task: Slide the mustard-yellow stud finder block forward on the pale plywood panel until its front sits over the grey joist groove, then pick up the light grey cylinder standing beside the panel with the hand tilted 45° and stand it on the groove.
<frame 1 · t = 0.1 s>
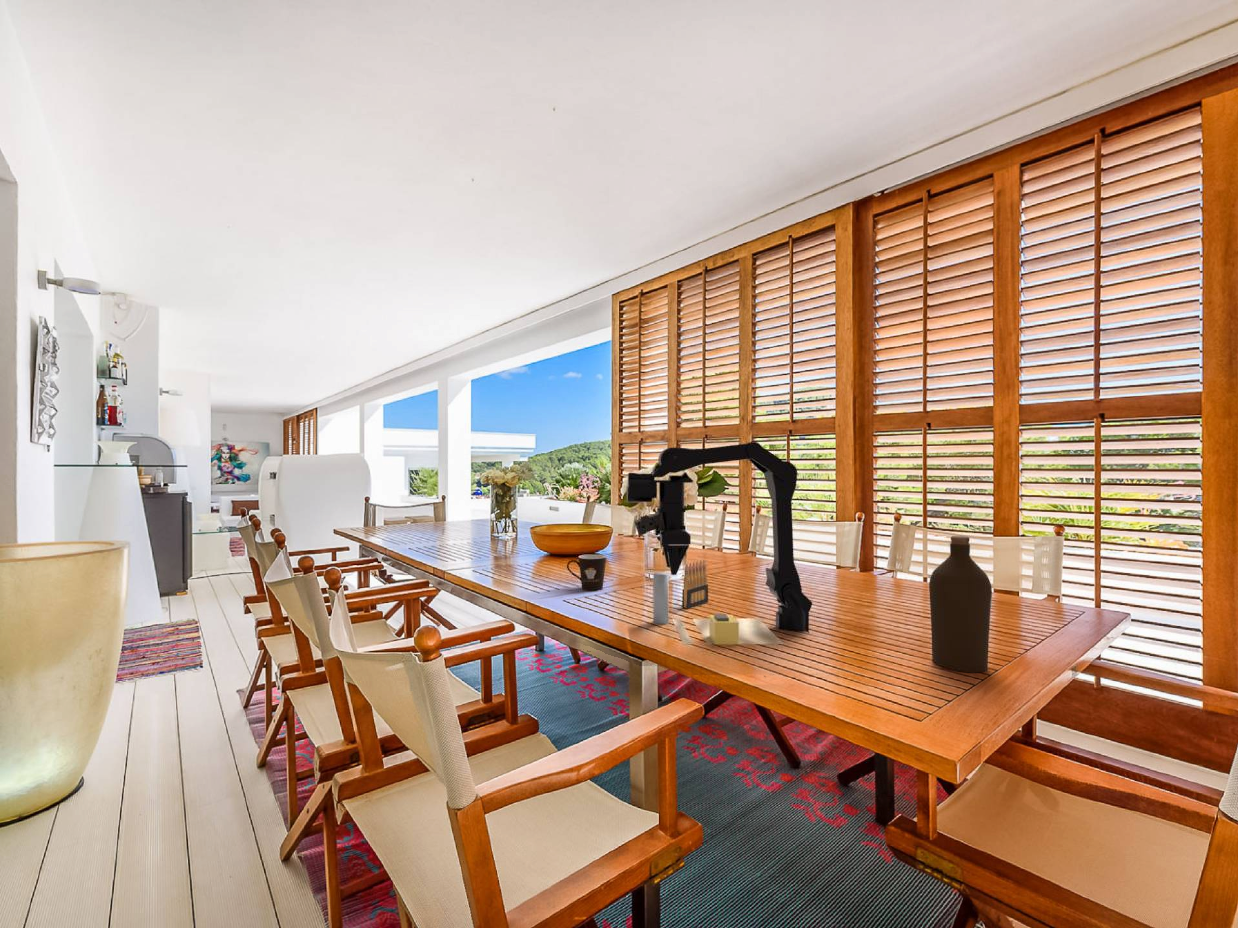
hand: (671, 570, 134), 15 cm above the table, tool pointing down, fingers open, 9 cm apart
light grey cylinder: (660, 628, 139), on the table
panel: (723, 636, 133), on the table
coffee mug: (588, 588, 184), on the table
olive oil: (959, 665, 115), on the table
ammunition clip: (695, 605, 163), on the table
finder: (723, 639, 126), point 1 cm above the table, touching panel
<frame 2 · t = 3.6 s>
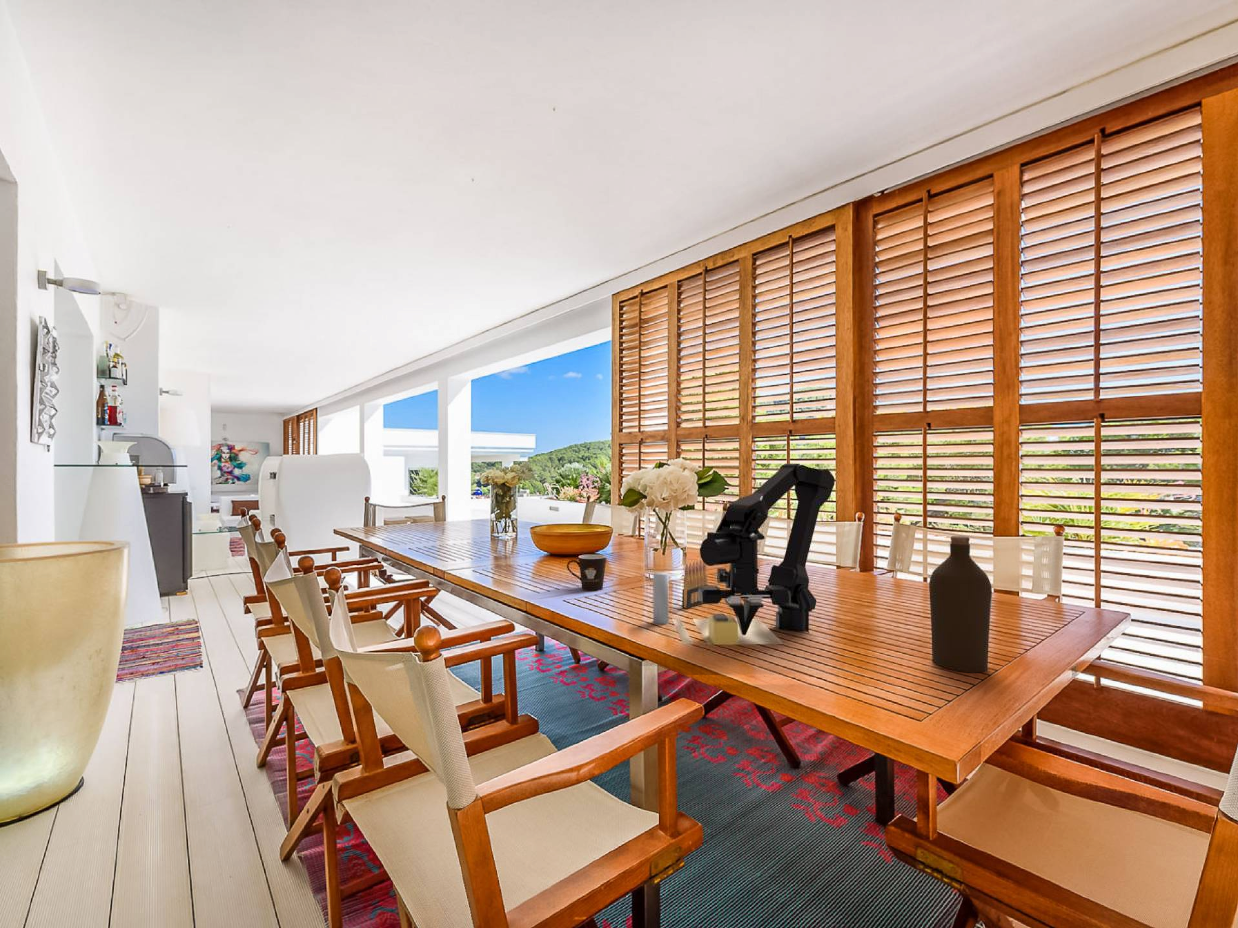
hand: (743, 634, 126), 3 cm above the table, tool pointing down, fingers closed
finder: (722, 639, 126), point 1 cm above the table, touching gripper, panel
everything else where it was.
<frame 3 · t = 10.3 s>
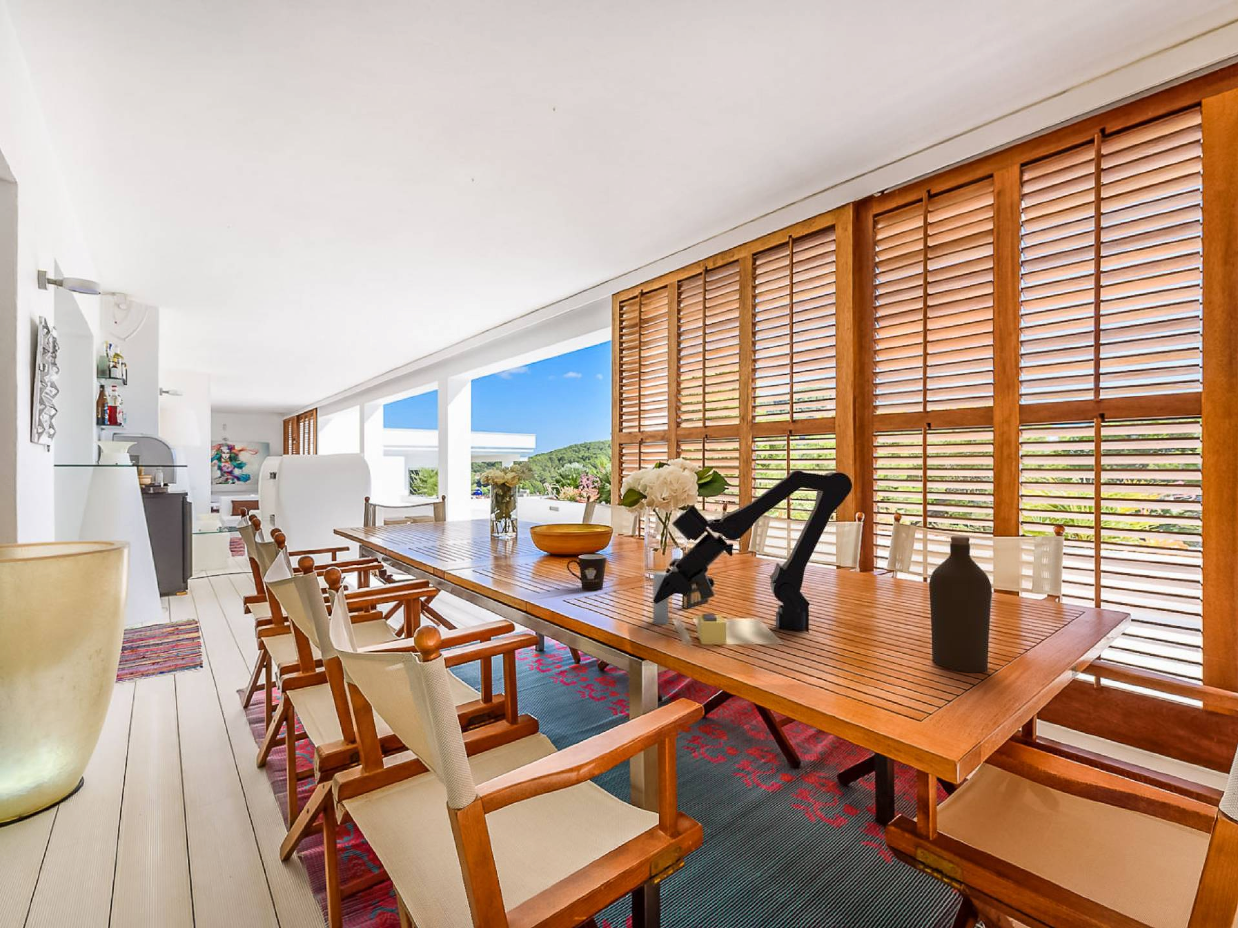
hand: (655, 600, 140), 7 cm above the table, tool tilted 45°, fingers closed on light grey cylinder, 4 cm apart
light grey cylinder: (660, 628, 139), on the table, touching gripper
finder: (711, 639, 126), point 1 cm above the table, touching panel
everything else where it was.
when the fingers open (9 cm above the table, at t = 12.8 s): light grey cylinder stays where it is, resting on panel.
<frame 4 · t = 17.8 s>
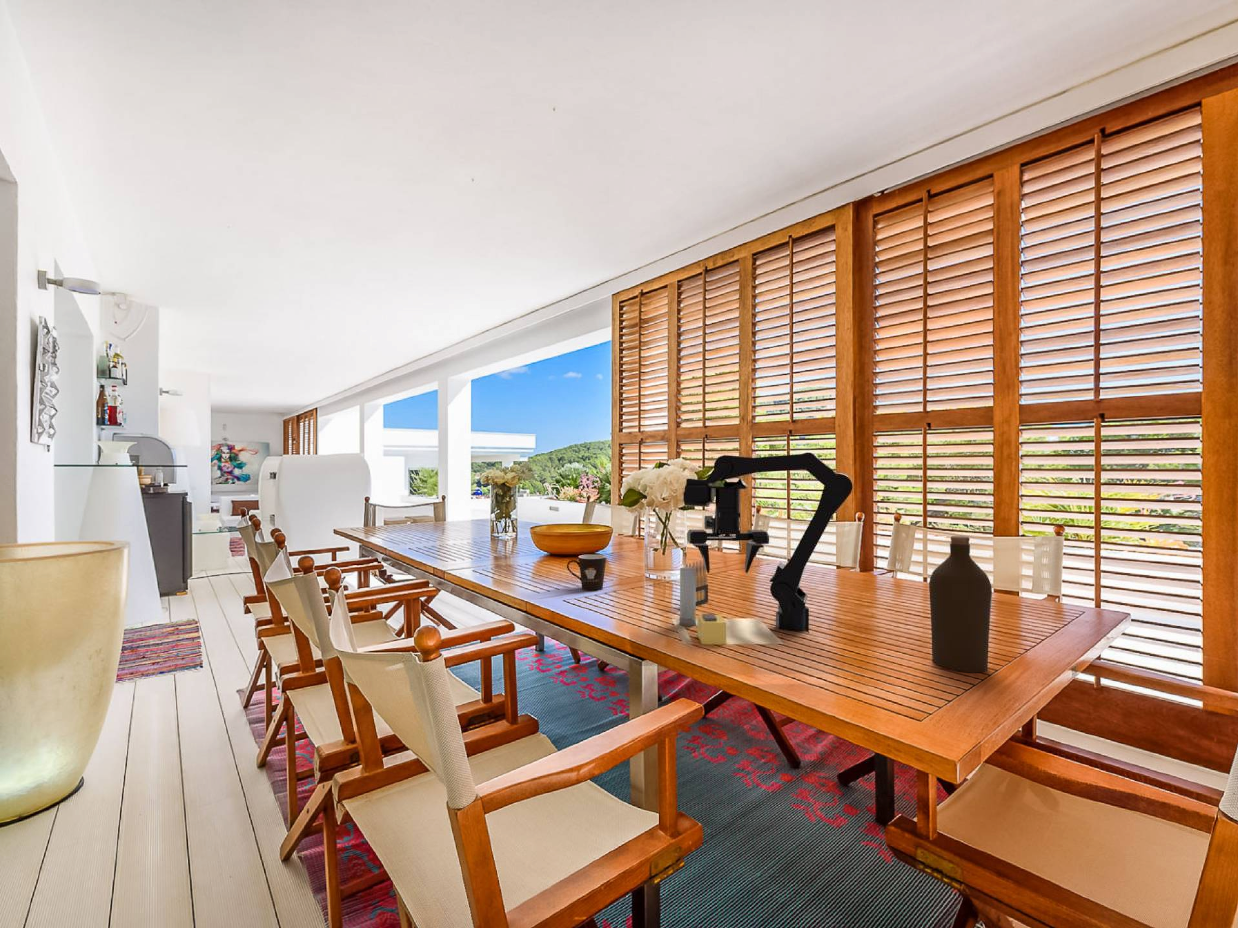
hand: (727, 572, 141), 13 cm above the table, tool pointing down, fingers open, 9 cm apart
light grey cylinder: (687, 624, 138), point 1 cm above the table, touching panel
everything else where it was.
at the end: light grey cylinder inside the target area (0.6 cm from its centre), point 1.5 cm above the table; light grey cylinder tilted 0°; finder inside the target area (1.9 cm from its centre), point 1.5 cm above the table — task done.
